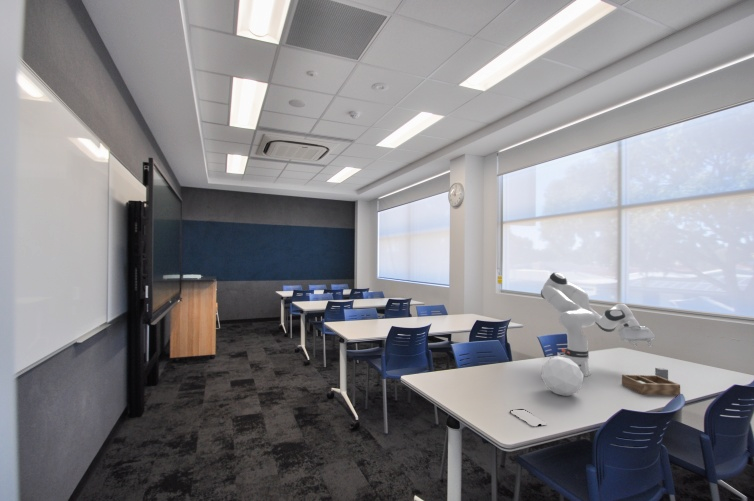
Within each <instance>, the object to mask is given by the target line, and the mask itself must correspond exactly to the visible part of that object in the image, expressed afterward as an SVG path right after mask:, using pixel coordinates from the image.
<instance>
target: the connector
mask: <svg viewBox="0 0 754 501" xmlns="http://www.w3.org/2000/svg"><path fill="white" fill-rule="evenodd" d="M654 375H657V376H660V377H662V378H665V379H667V380H669V369H667V368H664V367H655V371H654Z"/></svg>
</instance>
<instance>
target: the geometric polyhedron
mask: <svg viewBox="0 0 754 501" xmlns="http://www.w3.org/2000/svg"><path fill="white" fill-rule="evenodd" d="M559 356H560V355H559ZM559 356H558V355H557V356H553V357H554V358H551V359H550V358H549V359H548V360H547V361H546V362H545V363H544V364H543V365H542V369H541V376H540V377H541V378H542V381H543V383H544V384H545V387H546V388H547V389H549V390H550V391H551V392H552V393H554V394H556V395H560V396H563V397H569V396H572V395H574V394H576V393H577V394H578V393H579V391H580V389H581V388H582V387H583V382H584V377H583V373H582V371H581V370H580V368H579V367H578V365H577V364H575V363H574V362H573V361H572V360H571V359H569V358H564V357H559Z"/></svg>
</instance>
